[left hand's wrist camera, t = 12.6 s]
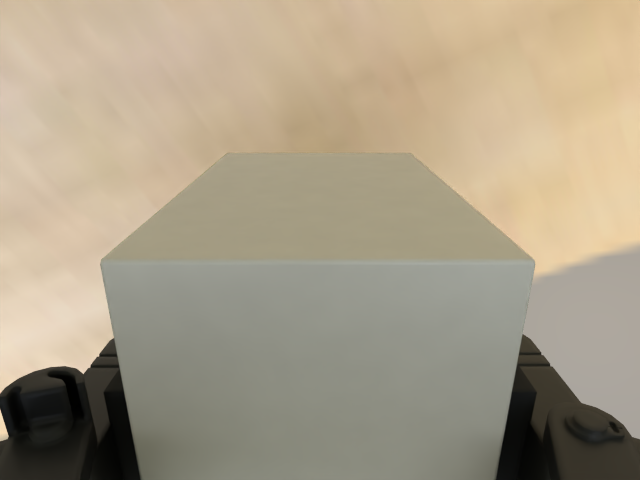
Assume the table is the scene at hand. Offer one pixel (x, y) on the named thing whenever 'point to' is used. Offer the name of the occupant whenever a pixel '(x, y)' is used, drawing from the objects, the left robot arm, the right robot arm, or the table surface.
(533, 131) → the table surface
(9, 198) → the table surface
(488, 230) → the grey rectangular block
